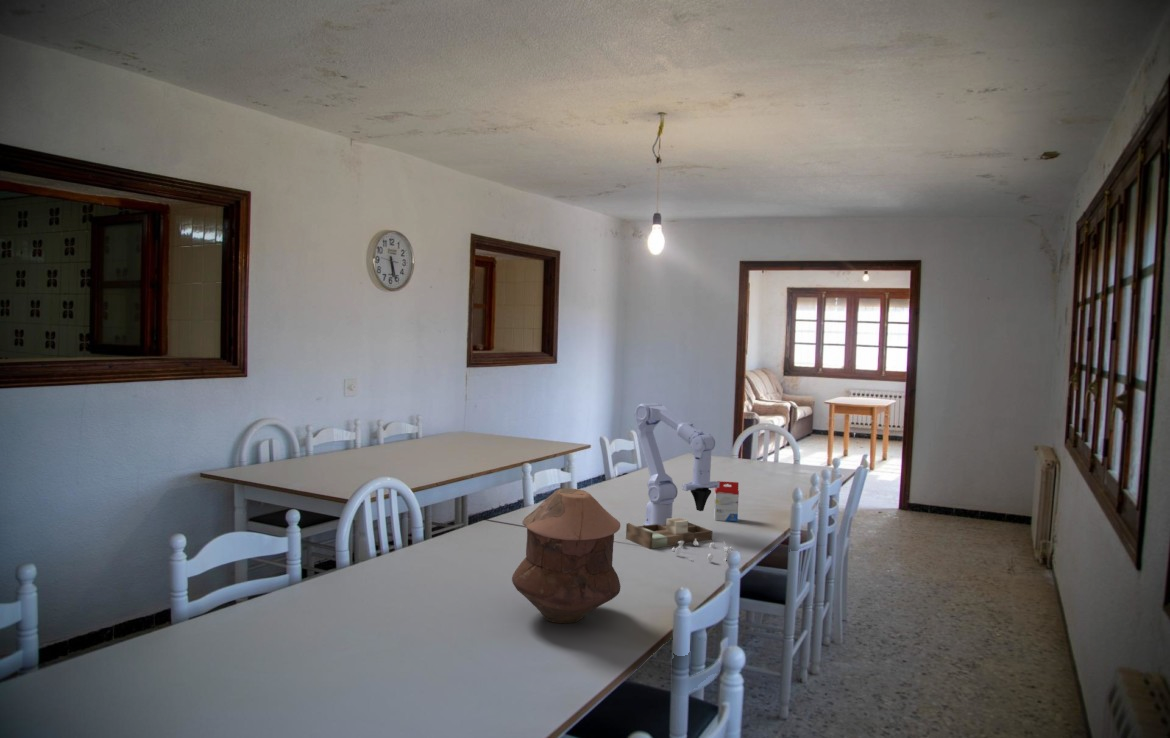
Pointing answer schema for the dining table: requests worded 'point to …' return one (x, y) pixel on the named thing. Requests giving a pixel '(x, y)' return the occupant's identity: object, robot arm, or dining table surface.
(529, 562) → the pottery vessel
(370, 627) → the dining table surface
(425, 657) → the dining table surface
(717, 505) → the ink box
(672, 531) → the birch block
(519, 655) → the dining table surface
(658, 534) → the trap board
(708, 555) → the game piece set
